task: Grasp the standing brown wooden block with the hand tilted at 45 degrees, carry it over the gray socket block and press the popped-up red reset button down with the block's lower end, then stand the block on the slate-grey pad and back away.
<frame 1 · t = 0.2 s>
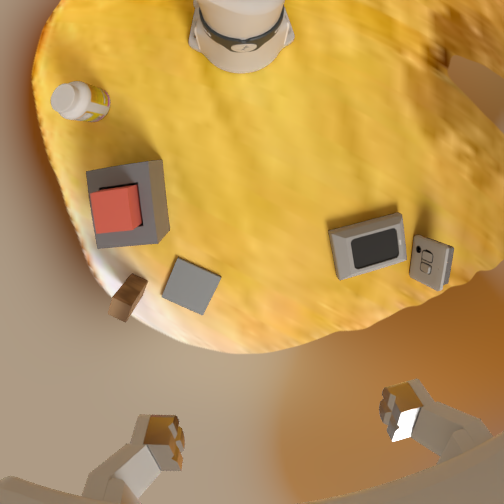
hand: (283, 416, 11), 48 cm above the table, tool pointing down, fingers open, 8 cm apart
electrical switch: (421, 253, 61), on the table
reset button: (117, 208, 45), point 11 cm above the table, slide at 0.0 cm
gray socket block: (137, 198, 55), on the table
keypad: (367, 243, 60), on the table
supplement bottle: (96, 105, 50), on the table
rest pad: (190, 286, 61), on the table
brown wooden block: (137, 284, 61), on the table
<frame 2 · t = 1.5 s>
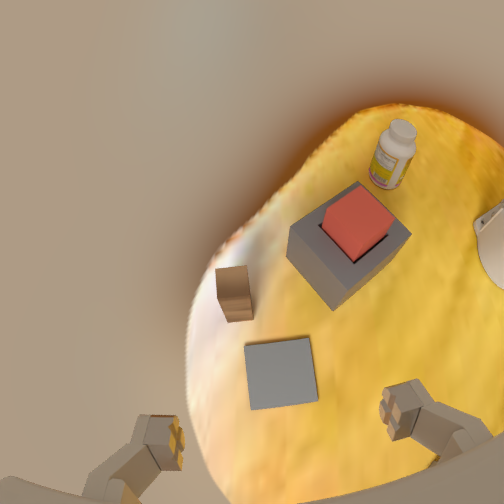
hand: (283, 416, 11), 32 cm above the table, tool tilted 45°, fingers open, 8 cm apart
reset button: (357, 224, 39), point 10 cm above the table, slide at 0.0 cm
gray socket block: (340, 259, 48), on the table
supplement bottle: (383, 177, 56), on the table
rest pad: (280, 374, 41), on the table
brown wooden block: (239, 309, 45), on the table
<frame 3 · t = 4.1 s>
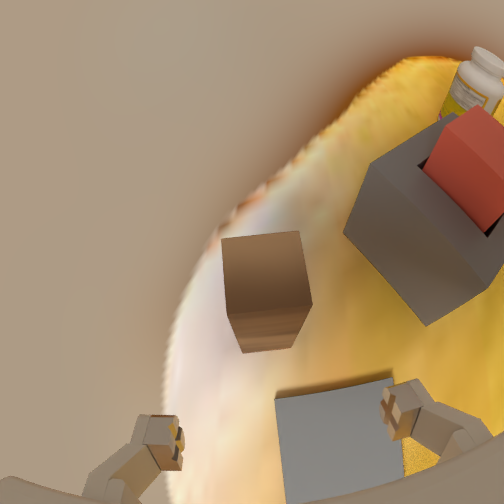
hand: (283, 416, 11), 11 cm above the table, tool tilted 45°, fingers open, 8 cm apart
reset button: (481, 167, 17), point 10 cm above the table, slide at 0.0 cm
gray socket block: (427, 238, 27), on the table
supplement bottle: (456, 131, 34), on the table
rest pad: (341, 446, 19), on the table
brown wooden block: (264, 327, 24), on the table
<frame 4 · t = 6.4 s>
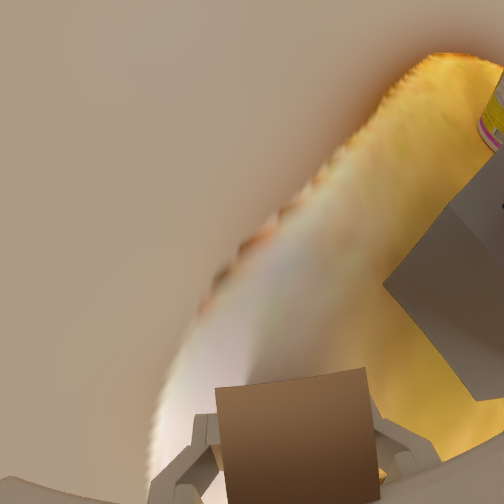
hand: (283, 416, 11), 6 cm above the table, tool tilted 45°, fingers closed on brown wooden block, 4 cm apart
gray socket block: (480, 285, 19), on the table
supplement bottle: (497, 142, 26), on the table
brown wooden block: (277, 422, 16), on the table, touching gripper
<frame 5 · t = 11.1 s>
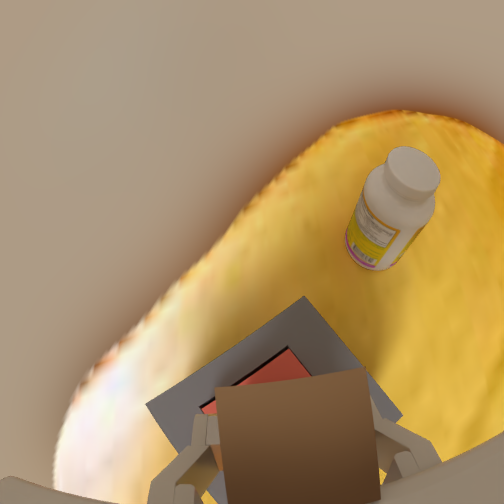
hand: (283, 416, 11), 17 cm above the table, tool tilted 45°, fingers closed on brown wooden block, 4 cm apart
reset button: (276, 419, 18), point 9 cm above the table, slide at 2.0 cm, touching brown wooden block
gray socket block: (272, 413, 26), on the table
supplement bottle: (371, 245, 33), on the table
brown wooden block: (277, 422, 16), point 11 cm above the table, touching gripper, reset button
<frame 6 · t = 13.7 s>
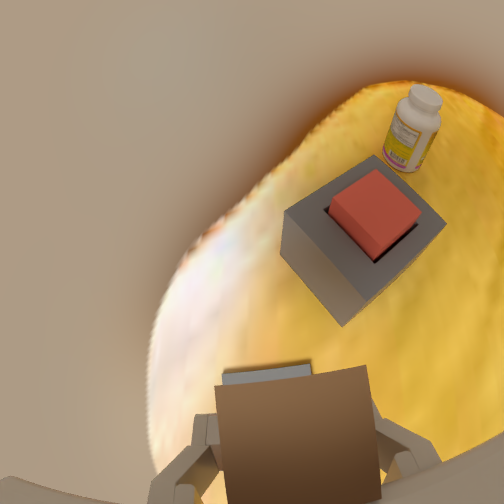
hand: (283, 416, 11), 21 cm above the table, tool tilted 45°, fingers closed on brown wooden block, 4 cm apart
reset button: (371, 219, 29), point 9 cm above the table, slide at 2.0 cm
gray socket block: (351, 258, 37), on the table
supplement bottle: (400, 159, 44), on the table
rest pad: (270, 412, 29), on the table
brown wooden block: (277, 421, 16), point 15 cm above the table, touching gripper
when the fingers open (7 cm above the table, at t = 16.3 s): brown wooden block drops 1 cm, resting on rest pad.
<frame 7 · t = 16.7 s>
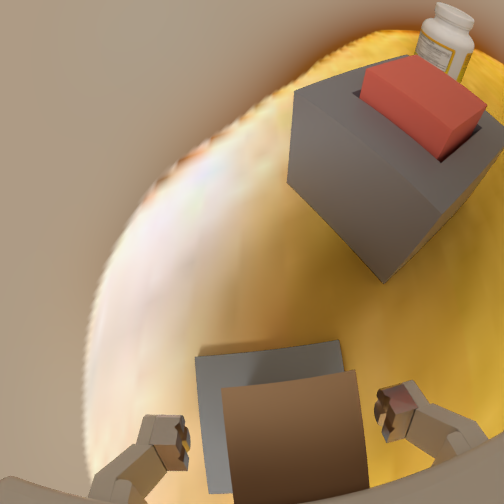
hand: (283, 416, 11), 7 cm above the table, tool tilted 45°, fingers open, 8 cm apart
reset button: (421, 114, 17), point 9 cm above the table, slide at 2.0 cm
gray socket block: (386, 190, 25), on the table
supplement bottle: (427, 94, 32), on the table
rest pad: (275, 420, 17), on the table
brown wooden block: (277, 420, 17), point 1 cm above the table, touching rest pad
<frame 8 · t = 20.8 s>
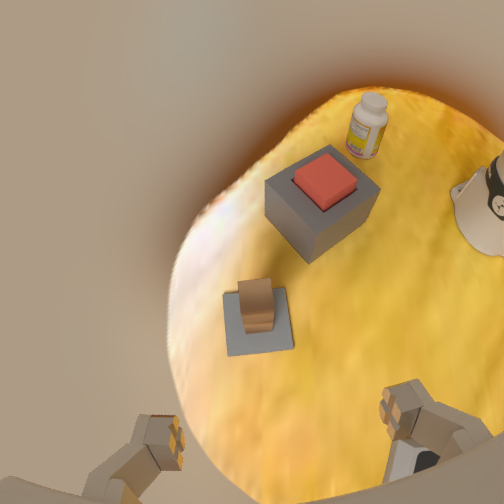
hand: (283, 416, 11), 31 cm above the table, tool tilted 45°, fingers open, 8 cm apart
reset button: (324, 186, 44), point 9 cm above the table, slide at 2.0 cm
gray socket block: (316, 218, 52), on the table
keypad: (427, 466, 33), on the table
supplement bottle: (360, 149, 59), on the table
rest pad: (257, 322, 44), on the table
brown wooden block: (257, 320, 44), point 1 cm above the table, touching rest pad
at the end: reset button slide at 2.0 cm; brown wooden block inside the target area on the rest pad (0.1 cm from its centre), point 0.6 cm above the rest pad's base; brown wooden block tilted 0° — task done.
